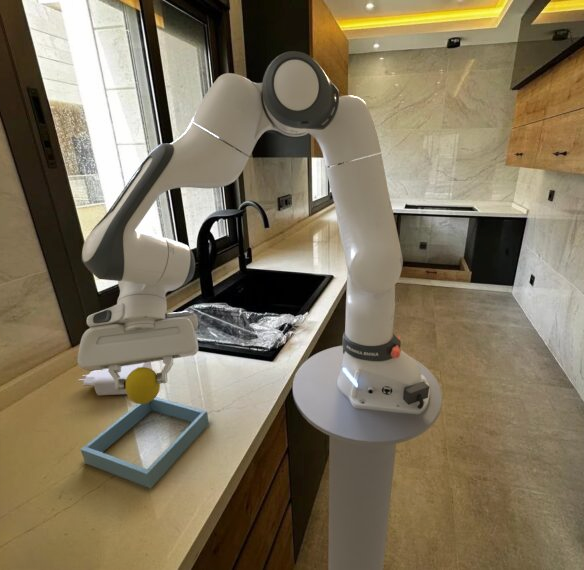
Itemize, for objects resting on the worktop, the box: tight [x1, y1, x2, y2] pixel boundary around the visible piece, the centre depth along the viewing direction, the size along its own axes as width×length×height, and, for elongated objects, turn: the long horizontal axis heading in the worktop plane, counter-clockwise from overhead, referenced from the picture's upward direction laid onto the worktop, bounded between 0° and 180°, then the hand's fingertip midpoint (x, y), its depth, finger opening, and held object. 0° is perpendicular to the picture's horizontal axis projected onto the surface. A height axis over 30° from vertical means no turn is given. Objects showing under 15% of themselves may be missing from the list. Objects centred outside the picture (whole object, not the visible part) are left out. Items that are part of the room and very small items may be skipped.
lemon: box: [125, 367, 161, 405], centre depth 61 cm, size 6×6×8 cm
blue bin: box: [80, 396, 210, 489], centre depth 65 cm, size 16×16×4 cm
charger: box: [77, 362, 153, 396], centre depth 81 cm, size 5×9×15 cm
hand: (141, 386), depth 60 cm, fingers closed on lemon, 5 cm apart
